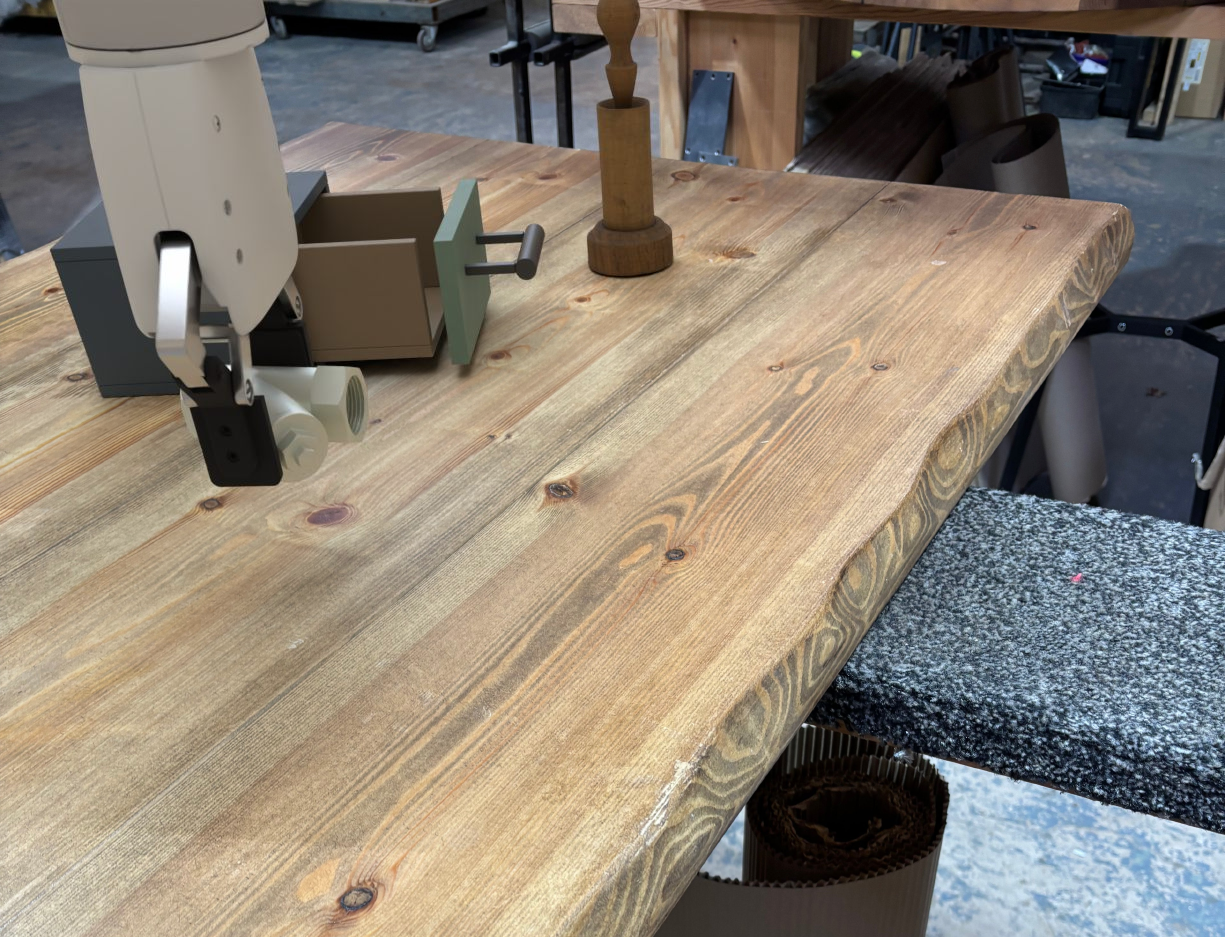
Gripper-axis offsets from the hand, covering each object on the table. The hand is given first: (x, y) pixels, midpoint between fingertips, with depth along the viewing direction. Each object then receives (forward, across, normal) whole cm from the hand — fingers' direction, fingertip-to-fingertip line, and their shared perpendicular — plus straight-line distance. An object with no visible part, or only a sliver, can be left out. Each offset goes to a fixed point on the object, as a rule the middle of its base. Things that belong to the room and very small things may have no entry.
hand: (269, 440), depth 58 cm
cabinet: (+8, -32, -12) cm, 35 cm away
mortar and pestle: (+8, -46, +16) cm, 49 cm away
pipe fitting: (+1, 0, 0) cm, 1 cm away
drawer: (+7, -32, +1) cm, 33 cm away
